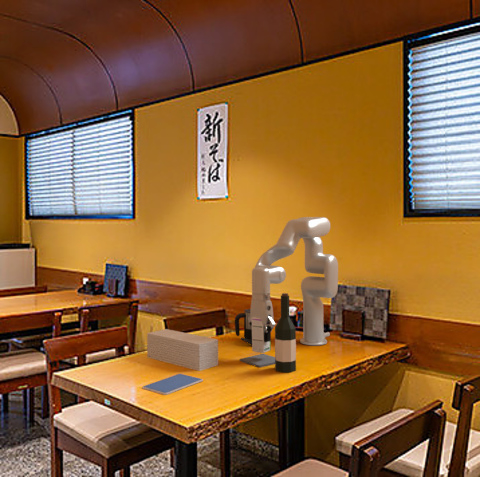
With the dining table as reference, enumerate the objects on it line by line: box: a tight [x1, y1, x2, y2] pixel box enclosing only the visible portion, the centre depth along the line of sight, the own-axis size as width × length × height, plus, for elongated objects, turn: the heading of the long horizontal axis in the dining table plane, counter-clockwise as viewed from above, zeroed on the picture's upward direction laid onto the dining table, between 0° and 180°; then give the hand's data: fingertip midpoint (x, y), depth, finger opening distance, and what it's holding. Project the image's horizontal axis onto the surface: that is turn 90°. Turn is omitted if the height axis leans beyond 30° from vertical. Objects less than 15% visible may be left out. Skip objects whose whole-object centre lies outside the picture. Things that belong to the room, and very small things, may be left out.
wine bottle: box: [274, 292, 297, 374], centre depth 203 cm, size 8×8×30 cm
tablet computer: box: [142, 373, 204, 396], centre depth 187 cm, size 19×13×1 cm, turn 142°
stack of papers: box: [146, 328, 219, 372], centre depth 217 cm, size 32×11×11 cm, turn 49°
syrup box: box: [251, 317, 272, 354], centre depth 215 cm, size 6×6×14 cm
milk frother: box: [234, 308, 252, 346], centre depth 249 cm, size 14×16×15 cm
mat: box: [239, 353, 275, 368], centre depth 216 cm, size 13×13×1 cm
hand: (261, 339), depth 216 cm, fingers closed on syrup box, 6 cm apart
